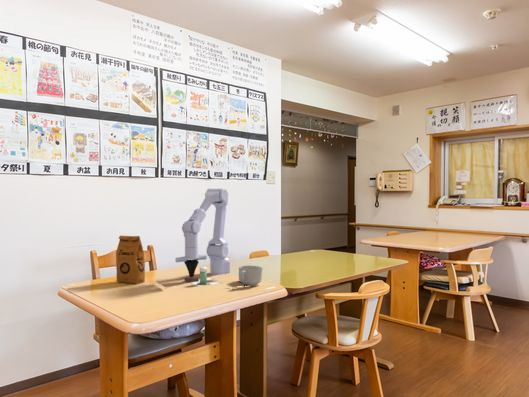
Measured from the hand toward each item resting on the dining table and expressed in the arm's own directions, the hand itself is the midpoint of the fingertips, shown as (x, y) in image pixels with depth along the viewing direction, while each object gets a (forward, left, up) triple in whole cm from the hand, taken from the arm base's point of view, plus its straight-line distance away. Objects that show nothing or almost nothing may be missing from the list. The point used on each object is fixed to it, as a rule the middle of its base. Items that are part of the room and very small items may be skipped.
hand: (191, 276), depth 178 cm
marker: (-2, +9, -2) cm, 9 cm away
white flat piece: (-4, +5, -3) cm, 7 cm away
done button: (0, 0, -2) cm, 2 cm away
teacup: (-20, +18, -4) cm, 27 cm away
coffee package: (+22, -19, -4) cm, 30 cm away
